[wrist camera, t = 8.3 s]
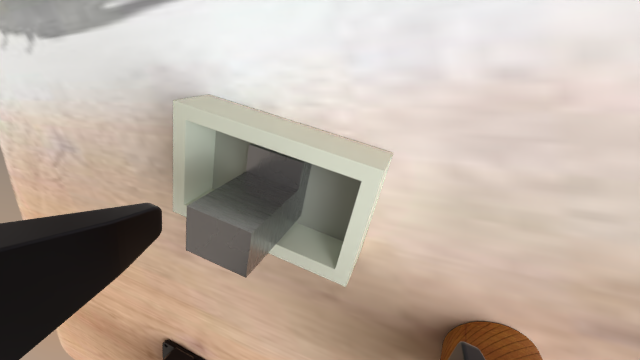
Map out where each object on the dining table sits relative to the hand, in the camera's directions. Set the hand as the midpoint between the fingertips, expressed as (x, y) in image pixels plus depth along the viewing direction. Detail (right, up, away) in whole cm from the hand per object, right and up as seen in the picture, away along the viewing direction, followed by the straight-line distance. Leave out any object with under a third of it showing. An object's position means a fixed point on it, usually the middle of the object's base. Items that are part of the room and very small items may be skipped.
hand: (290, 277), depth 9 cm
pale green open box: (-2, +3, +14) cm, 15 cm away
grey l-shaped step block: (-2, +3, +14) cm, 15 cm away
